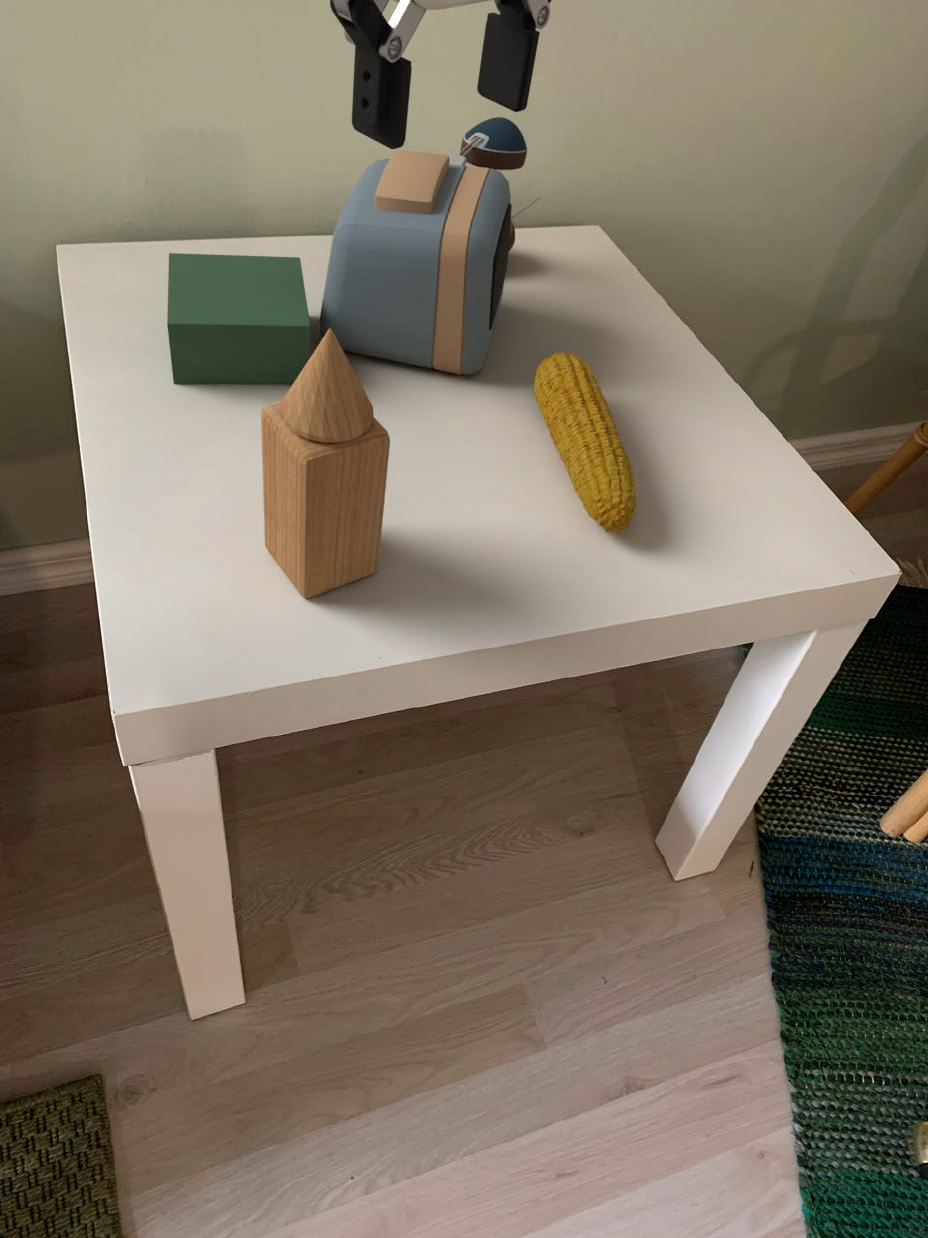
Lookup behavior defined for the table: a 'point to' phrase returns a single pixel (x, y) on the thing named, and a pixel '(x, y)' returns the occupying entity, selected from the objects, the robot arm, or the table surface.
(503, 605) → the table surface
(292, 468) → the decorative item
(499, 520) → the table surface
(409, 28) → the robot arm
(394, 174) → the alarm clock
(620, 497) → the food
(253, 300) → the green block
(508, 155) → the headphones
